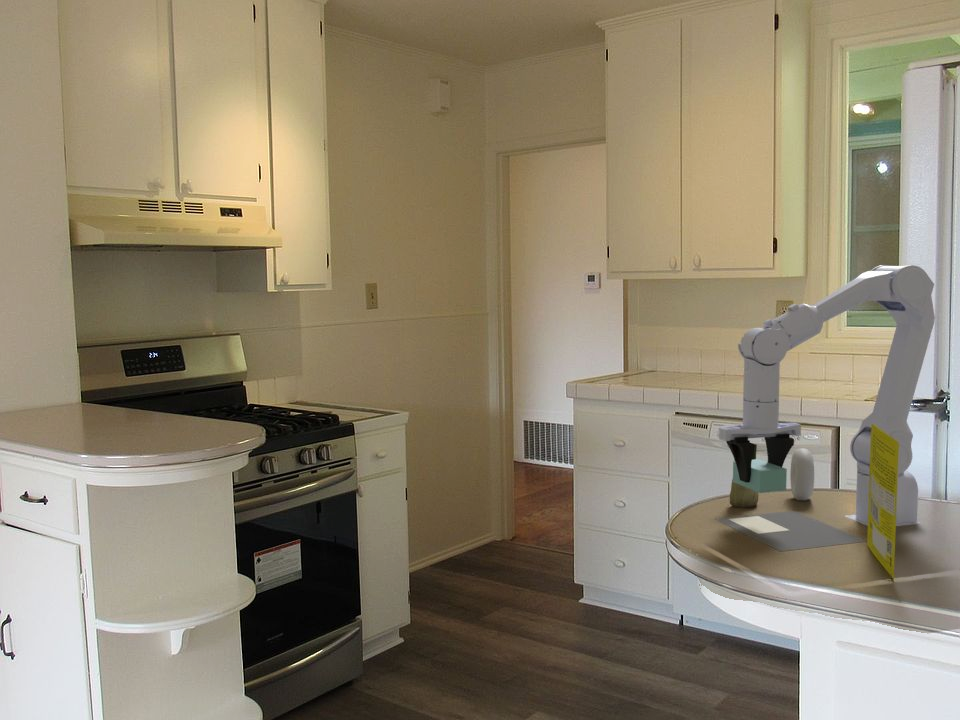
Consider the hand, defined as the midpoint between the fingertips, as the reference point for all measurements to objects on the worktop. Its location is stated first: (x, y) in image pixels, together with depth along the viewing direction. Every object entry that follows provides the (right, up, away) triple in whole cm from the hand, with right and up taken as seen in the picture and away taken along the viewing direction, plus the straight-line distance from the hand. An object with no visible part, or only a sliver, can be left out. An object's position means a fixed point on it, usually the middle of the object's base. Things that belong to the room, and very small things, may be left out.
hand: (759, 479), depth 154 cm
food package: (+12, -11, -18) cm, 24 cm away
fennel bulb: (+1, -7, +14) cm, 16 cm away
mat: (+4, -9, -2) cm, 10 cm away
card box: (0, -1, 0) cm, 1 cm away
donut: (+14, -7, +18) cm, 24 cm away
